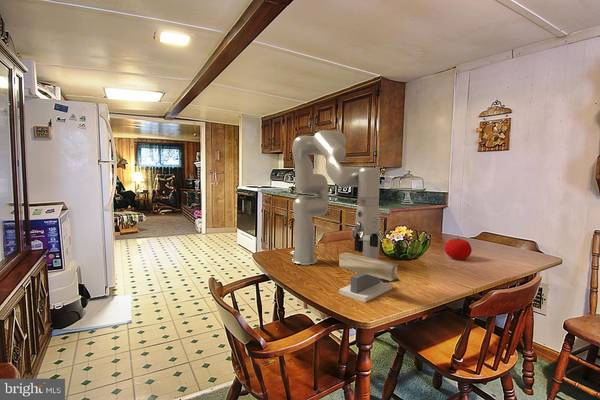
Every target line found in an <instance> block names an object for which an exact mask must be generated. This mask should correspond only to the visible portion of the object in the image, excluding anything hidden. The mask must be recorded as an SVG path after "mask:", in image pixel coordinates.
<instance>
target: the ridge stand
mask: <svg viewBox="0 0 600 400" xmlns="http://www.w3.org/2000/svg"><path fill="white" fill-rule="evenodd" d="M392 289H393V284H391V283H389V282H387V283H384V282H381V278H378V277H374V276H371V275H367V274H363V273H360V272H358V273H356V274H353V275H351V276H350V284H349V285H346V286H344V287H342V288H339V289H338V294H339V295H342V296H346V297H348V298H352V299H355V300H357V301H359V302H362V303H367V302H369V301H370V300H373V299H375V298H377V297H379V296H380V295H383V294H384V293H386V292H389V291H390V290H392Z"/></svg>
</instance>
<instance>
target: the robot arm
mask: <svg viewBox="0 0 600 400" xmlns="http://www.w3.org/2000/svg"><path fill="white" fill-rule="evenodd" d="M346 145H347V138H346V136H345V134H344V133H343V132H342V131H338V130H328V129H326V130H325V129H322V130H318V131H317V132H315V134H314V135H299V136H298V137H295V139H294V141H293V143H292V148H291V151H292V157H293V161H294V162H293V163H294V172H295V173H294V174H295V175H294V176H295V177H294V179H295V180H294V183H295V190H296V192H297V193H299V194H304V195H306V194H307V195H310V194H314V196H300V197H296V198H295V199H294V201H293V202H292V211H293V217H294V250H291V251H290V253H289V255H291V256H292V258H291V263H292V262H293V263H292V264H294V263H296V264H295V265H297V264H301V265H300V266H311V265H310V264H313V265H315V263H316V264H317V263H318V258H317V257H315V237H316V236H315V228H316V227H315V223H314V221H313V220H312V218H311V217H315V216H316V217H318V216H319V217H320V216H324V215H326V214H327V212H328V209H329V184H328V180H327V177H326V176H325V175H323V174H322V173H314V164H313V162H312V160H311V158H310V157H309V156H308V155H310V156H311V155H312V156H313V155H315V156H323V157H324V158H325V160H326V161H325V162H326V163H325V170H326V174H327V176H328V177H329V178H330V179H331V181H332V182H333V183H334V184H335V185H336V186H338V187H341V188H349V187H350V188H351V187H352V188H353V187H354V188H357V201H356V202H357V203H356V205H357V207H356V211H355V212H356V213H355V219H354V220H355V223H354V226H353V227H352V228H351V232H352V236H353V240H354V251H356V252H359V253H362V252H363V241H362V239H363V237H364V235H370V246H372V247H378V237H377V236H379V234H380V231H381V226H382V223H381V209H380V205H379V203H380V187H381V186H380V181H381V170H380V168H378V167H365V166H364V167H363V166H343V165H342V164H341V162H342V161H344V159H345V157H346V155H347V151H346V150H347V149H346V148H345V147H346ZM371 235H372V236H371Z"/></svg>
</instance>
